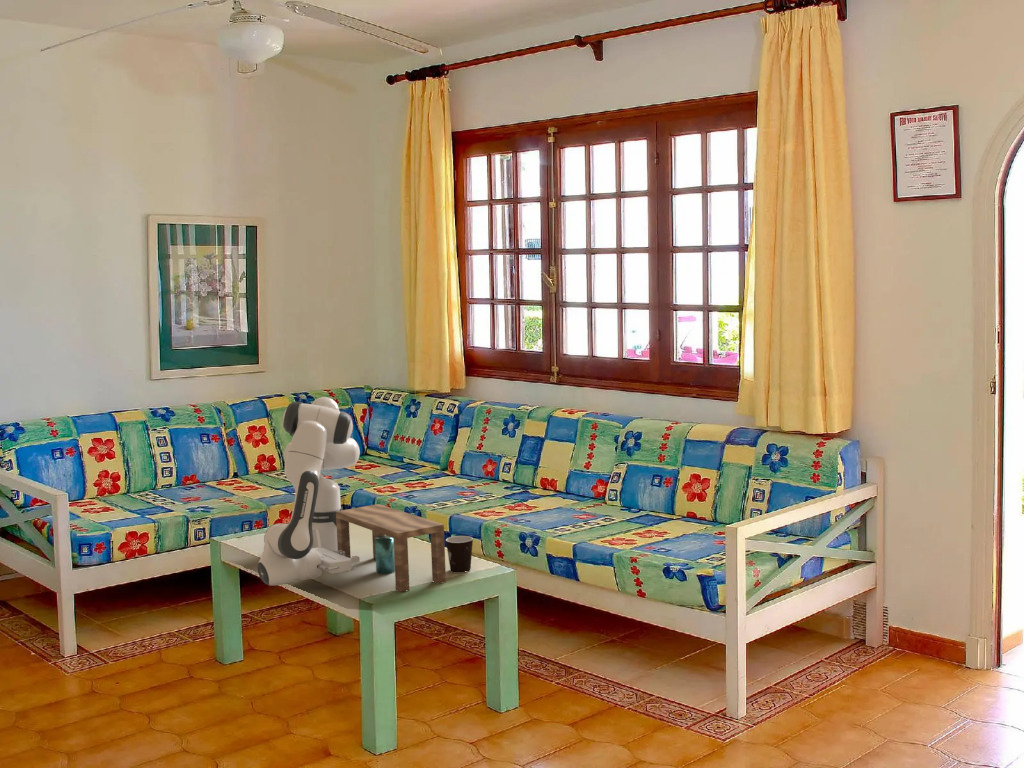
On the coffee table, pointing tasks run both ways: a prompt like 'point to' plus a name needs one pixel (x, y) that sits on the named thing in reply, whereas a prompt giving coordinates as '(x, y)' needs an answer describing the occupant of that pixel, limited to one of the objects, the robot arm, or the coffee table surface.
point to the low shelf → (395, 537)
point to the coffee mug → (459, 553)
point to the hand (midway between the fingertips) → (351, 555)
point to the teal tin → (384, 554)
